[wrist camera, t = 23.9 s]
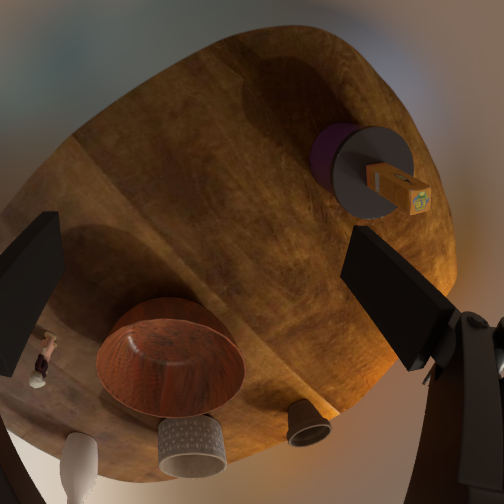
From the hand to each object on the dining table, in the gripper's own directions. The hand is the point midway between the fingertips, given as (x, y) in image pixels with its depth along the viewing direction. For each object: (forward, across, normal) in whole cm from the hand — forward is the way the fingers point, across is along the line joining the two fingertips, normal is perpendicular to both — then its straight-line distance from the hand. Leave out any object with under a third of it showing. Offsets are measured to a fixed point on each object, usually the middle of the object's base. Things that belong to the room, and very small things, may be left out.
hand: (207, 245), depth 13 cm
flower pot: (+35, +29, -63) cm, 78 cm away
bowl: (+35, -3, -35) cm, 50 cm away
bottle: (+35, -32, -81) cm, 94 cm away
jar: (+35, +23, 0) cm, 42 cm away
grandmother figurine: (+35, -29, -40) cm, 60 cm away
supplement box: (+25, +23, 0) cm, 34 cm away
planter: (+35, +1, -69) cm, 77 cm away
